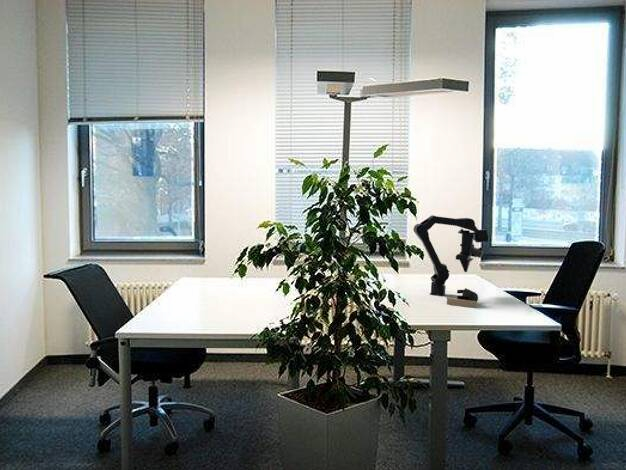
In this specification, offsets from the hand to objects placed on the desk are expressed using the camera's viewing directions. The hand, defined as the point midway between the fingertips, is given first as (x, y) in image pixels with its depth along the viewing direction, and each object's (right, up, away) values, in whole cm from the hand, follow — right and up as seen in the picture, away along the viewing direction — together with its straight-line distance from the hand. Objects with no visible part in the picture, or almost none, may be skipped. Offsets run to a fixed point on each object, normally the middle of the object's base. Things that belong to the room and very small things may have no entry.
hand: (465, 272), depth 338 cm
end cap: (-5, -14, -23) cm, 27 cm away
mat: (-5, -14, -21) cm, 26 cm away
